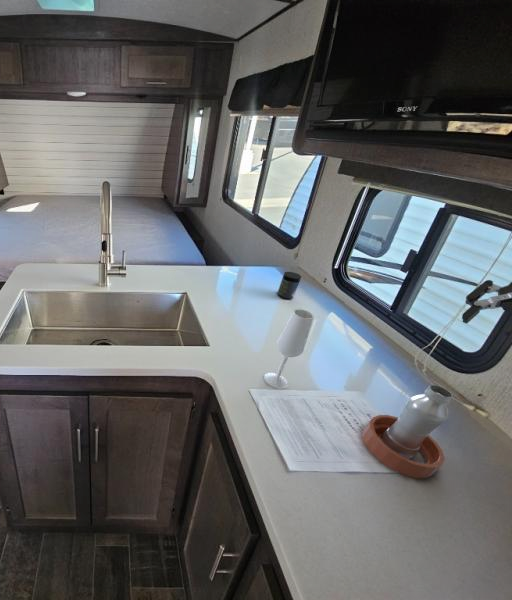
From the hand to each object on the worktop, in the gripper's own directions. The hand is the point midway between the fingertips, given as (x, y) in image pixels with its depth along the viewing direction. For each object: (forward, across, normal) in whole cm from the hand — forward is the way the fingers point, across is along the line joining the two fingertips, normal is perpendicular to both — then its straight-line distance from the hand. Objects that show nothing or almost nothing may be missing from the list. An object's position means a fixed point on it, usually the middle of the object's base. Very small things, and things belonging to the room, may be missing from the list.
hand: (489, 331), depth 68 cm
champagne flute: (+37, +26, -6) cm, 45 cm away
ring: (+32, -3, -12) cm, 34 cm away
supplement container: (+4, +63, -39) cm, 74 cm away
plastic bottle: (+31, -2, -12) cm, 33 cm away
